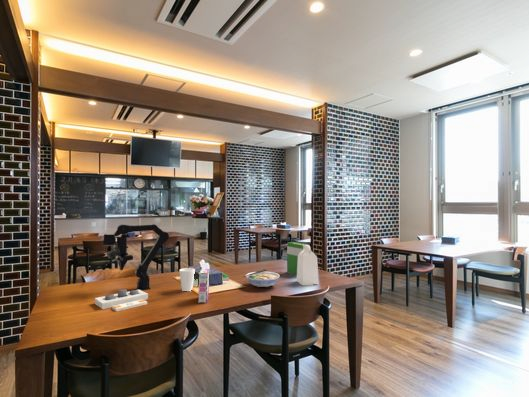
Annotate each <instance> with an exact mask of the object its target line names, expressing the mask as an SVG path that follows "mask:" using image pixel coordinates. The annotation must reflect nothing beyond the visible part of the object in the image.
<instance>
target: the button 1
mask: <svg viewBox="0 0 529 397" xmlns="http://www.w3.org/2000/svg"><path fill="white" fill-rule="evenodd" d="M104 296H105V300H111V299H114V295H113V294H108V295H104Z"/></svg>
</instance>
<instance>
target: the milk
mask: <svg viewBox="0 0 529 397" xmlns="http://www.w3.org/2000/svg"><path fill="white" fill-rule="evenodd" d="M318 264H319V263H318V256H317V254H315V253H314V252H313V251H312V249H311V246H310V244H309V245H305V248H304V249H303V250H302V251H301V252H300V253H299V255H298V262H297V275H296V282H297V283H298V282H299V283H298V284H300V285H301V286H302V285H306V286H314V285H313V284H319V267H318Z"/></svg>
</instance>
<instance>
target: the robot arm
mask: <svg viewBox="0 0 529 397" xmlns="http://www.w3.org/2000/svg"><path fill="white" fill-rule="evenodd" d="M147 231H152V232H154V233H155V234H156V235H157V237H156V240H155V243H154V244H153V246H152V248H151V249H150V251H149V252H148V254H147V255H146V257H145V258H144V260H143V261H142V262H141V263H140V262H138V264H137V266H136V267H135V268H134V269H135V271H134V273H135V276H136V277H137V282H136V290H141V291H144V290H145V291H146V290H149V289H151V287H150V275H149V274H148V273H147V272H148V269H149V266H150V264H151V263H152V261H153V259H154V258H155V257H156V255H157V253H158V251H159V250H160V248H161V247H162V246H163V245H164V244H165V243H166V242H167V241H168V240H169V237H170V235H169V232H167V231H163V230H162V229H161V228H160V227H159V226H158V225H157V224H154V223H152V224H137V225H136V224H135V225H133V224H132V225H131V224H123V223H122V224H119V225H118V226H117V227H116V231H115V232H114V233H113V234H110V233H109V234H107V233H104V234H103V240H102V241H103V244H102V246H103V247H105V246H106V247H107V246H114V244H116V246H114V249H112V250H109V251H107V252H106V253H105V254H106V256H107V258H108V259H110V260H111V259H113V258H114V260H115V261H117V264H118V267H119V271H123V270H124V268H125V266H126V265H127V262H128V261H133V260H134V256H133V255H132V254H129V252H128V249H129V246H128V238H131V235H130V233H134V232H147Z"/></svg>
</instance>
